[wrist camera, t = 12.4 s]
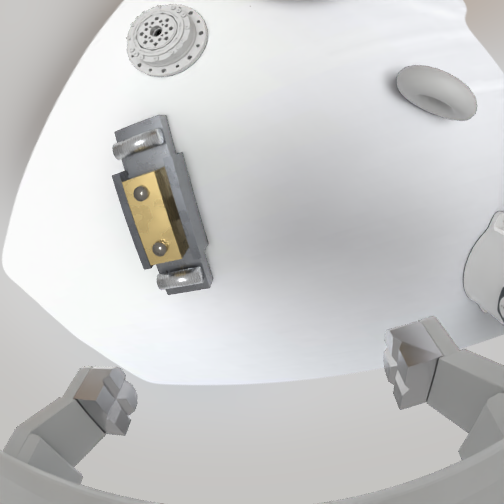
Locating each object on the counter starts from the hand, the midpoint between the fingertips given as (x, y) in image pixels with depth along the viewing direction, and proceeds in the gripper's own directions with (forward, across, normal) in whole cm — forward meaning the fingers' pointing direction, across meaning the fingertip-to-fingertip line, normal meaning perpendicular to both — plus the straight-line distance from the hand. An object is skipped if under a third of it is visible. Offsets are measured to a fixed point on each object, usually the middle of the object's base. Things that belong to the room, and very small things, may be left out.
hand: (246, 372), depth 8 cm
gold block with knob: (+27, -12, 0) cm, 29 cm away
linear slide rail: (+29, -12, 0) cm, 31 cm away
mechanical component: (+30, -7, +21) cm, 37 cm away
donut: (+29, +22, +8) cm, 38 cm away
